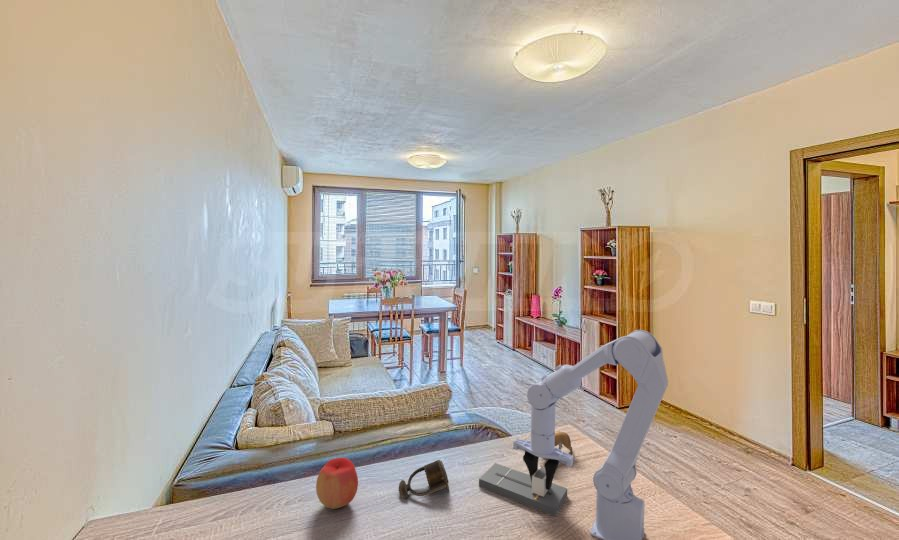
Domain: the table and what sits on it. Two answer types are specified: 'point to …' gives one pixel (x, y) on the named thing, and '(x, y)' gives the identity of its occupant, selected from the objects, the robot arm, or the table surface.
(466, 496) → the table surface
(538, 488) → the fader knob
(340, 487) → the apple
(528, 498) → the fader console
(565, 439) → the lion figurine
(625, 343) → the robot arm
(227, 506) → the table surface
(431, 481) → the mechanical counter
